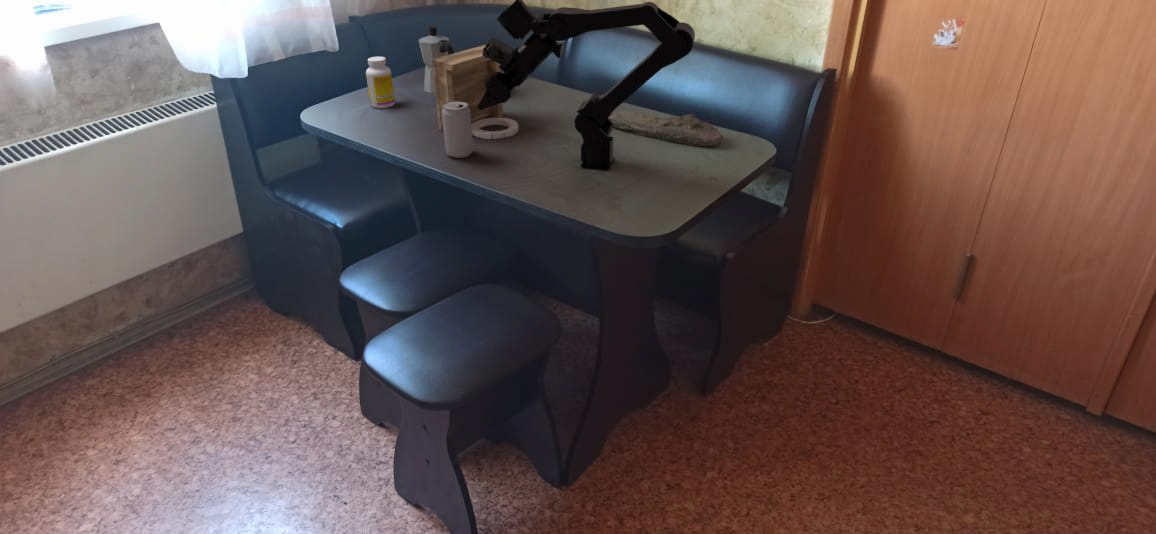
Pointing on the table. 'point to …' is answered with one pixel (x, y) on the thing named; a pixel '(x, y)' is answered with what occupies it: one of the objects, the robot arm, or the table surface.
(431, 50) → the coffee maker
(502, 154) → the table surface
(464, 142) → the beverage can
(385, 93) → the supplement bottle
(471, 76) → the wooden tray
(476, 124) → the socket ring
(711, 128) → the elongated rock
